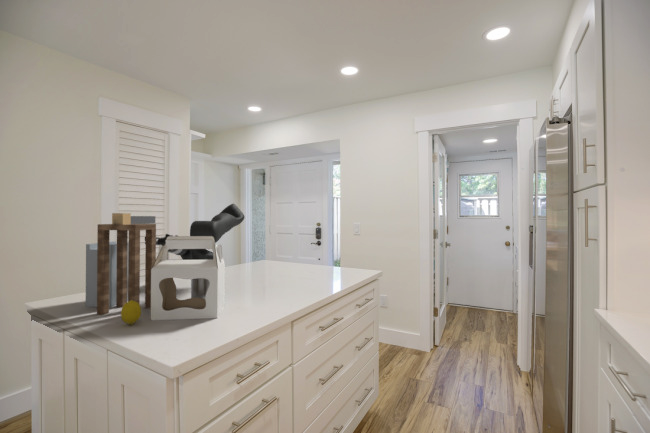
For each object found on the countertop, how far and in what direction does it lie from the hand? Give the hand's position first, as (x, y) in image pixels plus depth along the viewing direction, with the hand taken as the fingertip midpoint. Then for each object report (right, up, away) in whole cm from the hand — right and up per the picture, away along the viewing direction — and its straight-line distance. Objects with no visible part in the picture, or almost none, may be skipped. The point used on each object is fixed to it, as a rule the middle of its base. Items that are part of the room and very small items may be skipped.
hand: (156, 237), depth 136 cm
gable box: (+24, -26, -22) cm, 42 cm away
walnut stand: (0, -26, -19) cm, 32 cm away
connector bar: (0, +6, -14) cm, 16 cm away
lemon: (+11, -26, -35) cm, 45 cm away
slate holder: (-14, -26, -8) cm, 30 cm away
